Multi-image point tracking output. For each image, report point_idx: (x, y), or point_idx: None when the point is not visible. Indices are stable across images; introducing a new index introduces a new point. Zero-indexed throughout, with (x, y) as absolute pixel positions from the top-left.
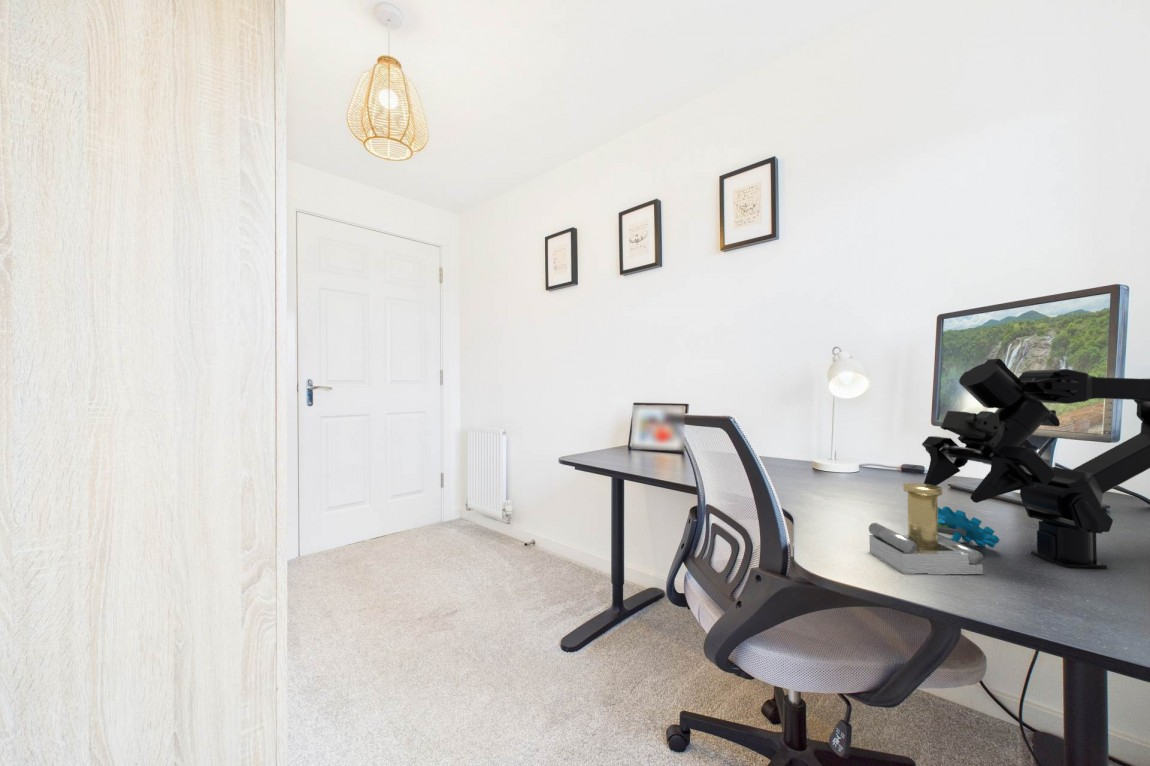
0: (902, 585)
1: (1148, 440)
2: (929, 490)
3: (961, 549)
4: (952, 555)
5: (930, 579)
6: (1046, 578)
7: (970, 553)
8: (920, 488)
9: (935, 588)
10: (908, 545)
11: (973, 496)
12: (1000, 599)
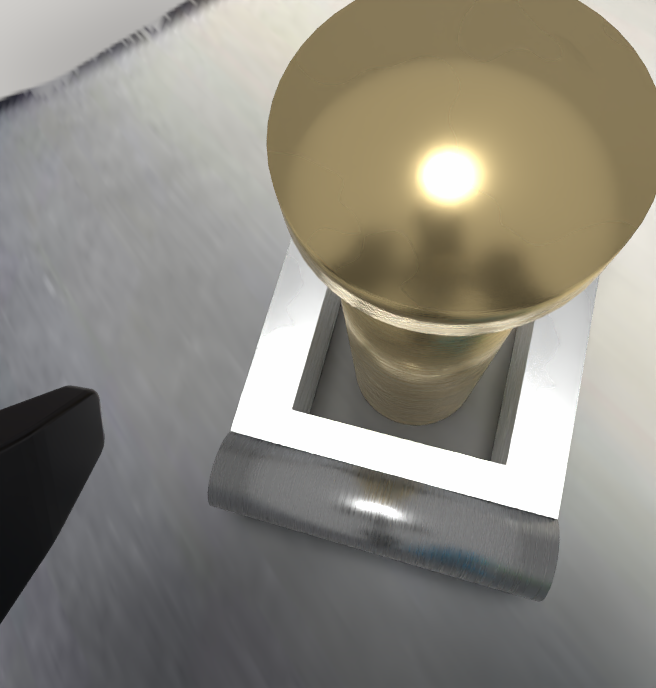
0: (250, 100)
1: None
2: (292, 64)
3: (286, 452)
4: (257, 347)
5: (264, 240)
6: None
7: (227, 438)
8: (357, 14)
9: (197, 187)
10: None
11: (53, 391)
12: (59, 325)
